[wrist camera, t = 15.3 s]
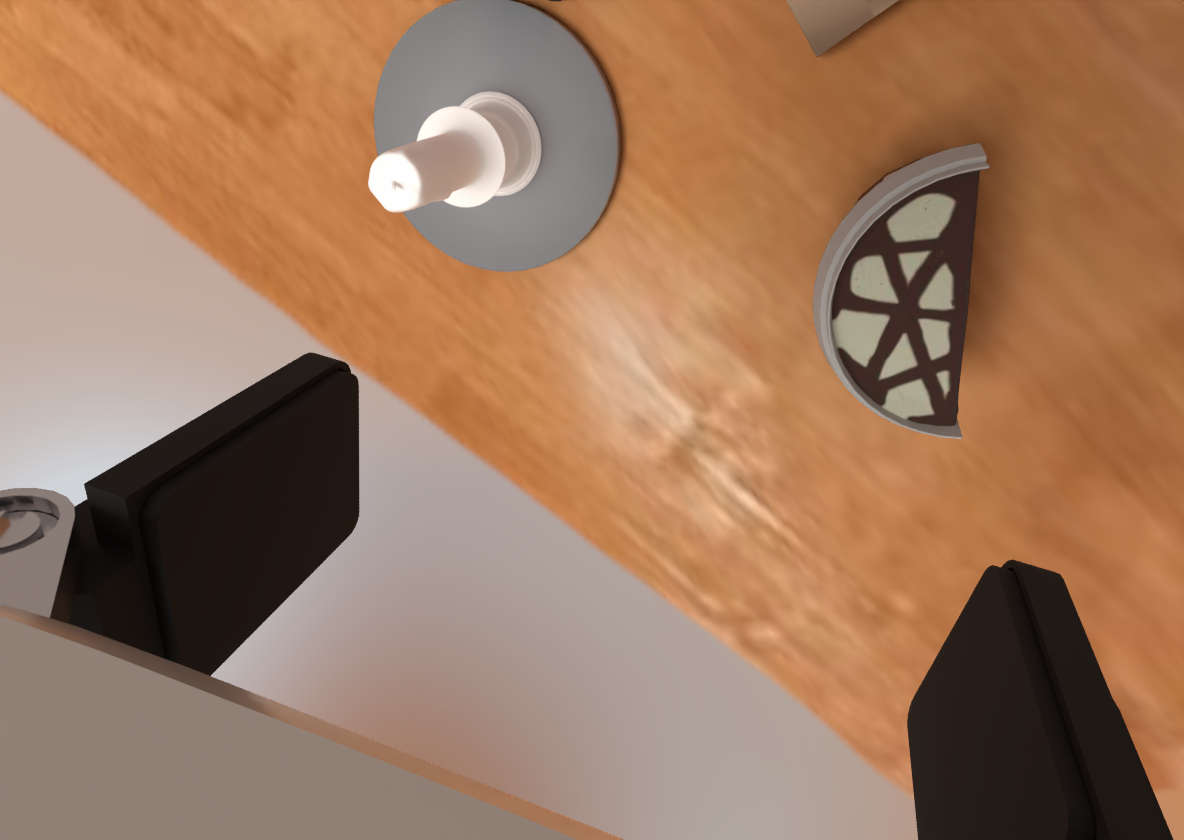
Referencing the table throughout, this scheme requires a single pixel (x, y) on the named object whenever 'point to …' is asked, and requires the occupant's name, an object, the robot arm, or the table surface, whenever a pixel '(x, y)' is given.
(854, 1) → the walnut socket
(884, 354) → the food container
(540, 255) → the slate plate
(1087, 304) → the table surface
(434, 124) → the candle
